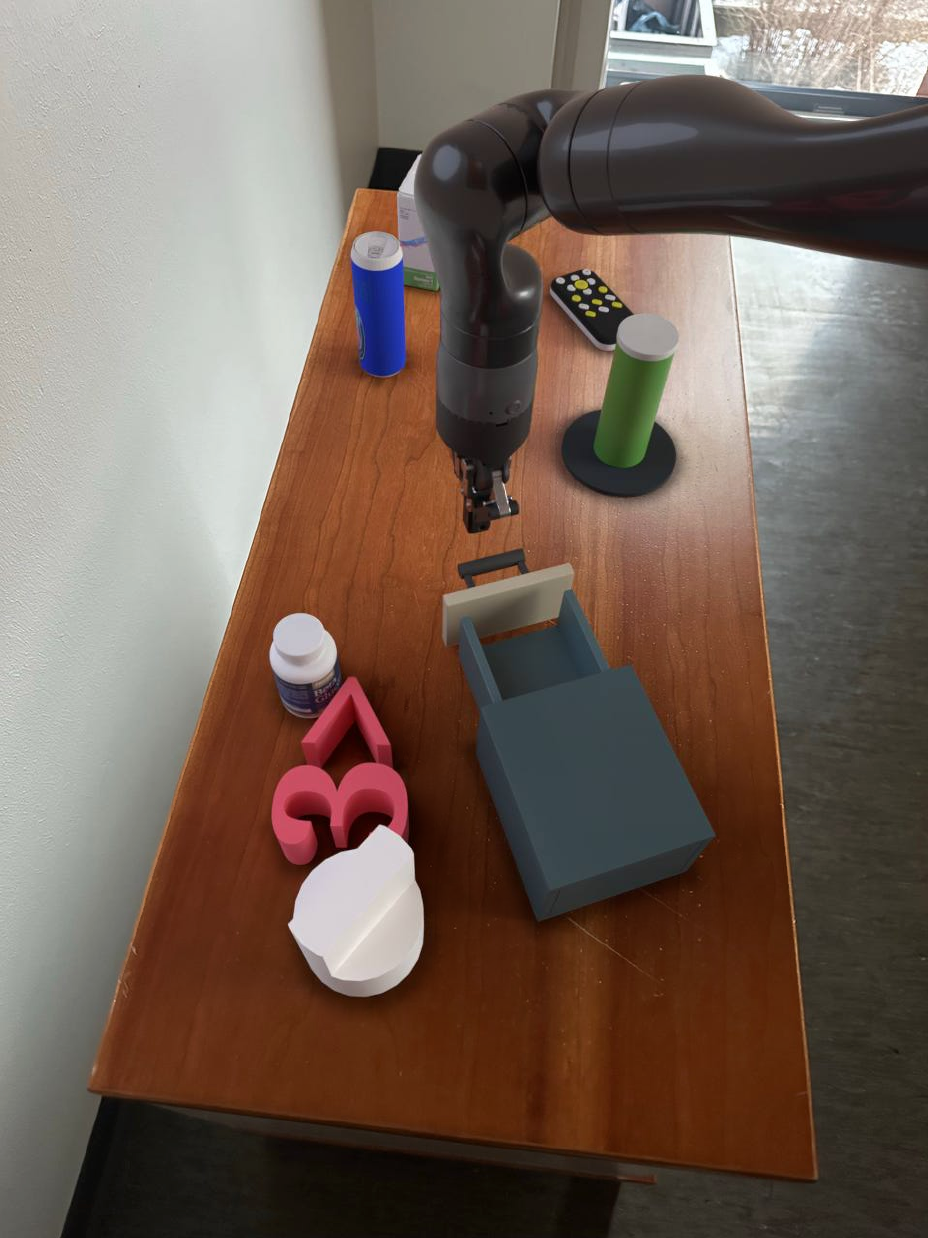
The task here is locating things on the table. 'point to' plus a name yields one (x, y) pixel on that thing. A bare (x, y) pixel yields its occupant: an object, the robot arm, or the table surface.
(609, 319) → the remote control
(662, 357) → the chip tube
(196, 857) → the table surface
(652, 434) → the mat
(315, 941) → the cylinder with rectangular tab
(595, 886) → the cabinet
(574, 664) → the drawer
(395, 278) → the beverage can
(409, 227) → the ink box
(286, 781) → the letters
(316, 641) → the pill bottle
